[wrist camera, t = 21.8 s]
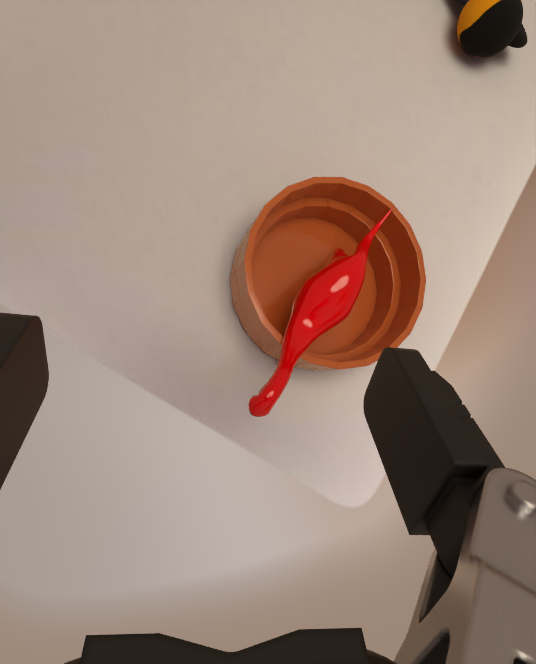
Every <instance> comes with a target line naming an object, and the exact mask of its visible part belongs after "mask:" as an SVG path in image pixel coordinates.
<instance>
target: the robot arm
mask: <svg viewBox="0 0 536 664" xmlns="http://www.w3.org/2000/svg"><path fill="white" fill-rule="evenodd" d="M48 380H49V371H48V363H47V356H46V349H45V341H44V334H43V327H42V322H41V320H40V318H39V317H38V316H31V315H20V314H9V313H0V489H1V487H2V485H3V483H4V481H5V479H6V477H7V474H8V472H9V470H10V468H11V466H12V464H13V462H14V460H15V458H16V456H17V454H18V452H19V449H20V448H21V446H22V444H23V441H24V439H25V437H26V435H27V433H28V431H29V429H30V427H31V425H32V423H33V421H34V419H35V417H36V414H37V412H38V410H39V408H40V406H41V404H42V402H43V400H44V398H45V395H46V392H47V387H48ZM364 414H365V418H366V421H367V423H368V426H369V429H370V431H371V434H372V437H373V439H374V442H375V444H376V447H377V450H378V452H379V455H380V458H381V460H382V463H383V466H384V468H385V471H386V474H387V476H388V479H389V482H390V484H391V487H392V490H393V492H394V495H395V498H396V500H397V503H398V506H399V508H400V511H401V514H402V516H403V519H404V521H405V524H406V527H407V530H408V532H409V535H430V536H431V539H432V541H433V544H434V546H435V550H434V551H433V553H432V555H431V558H430V561H429V564H428V568H427V571H426V575H425V578H424V581H423V584H422V588H421V591H420V595H419V598H418V601H417V605H416V607H415V611H414V615H413V618H412V621H411V624H410V627H409V630H408V633H407V635H406V638H405V640H404V642H403V644H402V646H401V647H400V649H399V651H398V653H397V655H396V658H395V660H394V662H393V661H391V660H389V659H388V658H386V657H384V656H381V655H379V654H377V653H375V652H373V651H370V650H367V649H366V645H365V642H364V637H363V633H362V628H340V629H304V630H303V629H302V630H297V631H294V632H291V633H288V634H285V635H282V636H280V637H277V638H274V639H271V640H269V641H266V642H263V643H260V644H257V645H254V646H252V647H249V648H246V649H243V650H240V651H237V652H225V651H221V650H217V649H213V648H210V647H206V646H203V645H199V644H196V643H192V642H189V641H185V640H181V639H178V638H174V637H170V636H167V635H163V634H160V633H155V634H121V635H120V634H118V635H86V639H85V643H84V647H83V652H82V656H81V658H78V659H75V660H72V661H69V662H67V663H64V664H536V480H535V479H533V478H532V477H530V476H528V475H526V474H524V473H522V472H519V471H517V470H514V469H509V468H505V466H504V465H503V463H502V462H501V460H500V459H499V457H498V456H497V454H496V453H495V451H494V450H493V448H492V447H491V445H490V443H489V442H488V440H487V439H486V437H485V436H484V434H483V433H482V431H481V430H480V428H479V427H478V425H477V424H476V422H475V421H474V419H473V418H470V415H471V414H470V413H469V411H468V410H467V408H466V407H465V405H462V401H461V399H460V398H459V396H458V395H457V393H456V392H455V390H454V388H453V387H452V385H450V384H449V383H448V382H447V381H446V380H445V379H443V378H442V377H441V376H440V375H439V374H438V373H436V372H435V371H431V370H430V368H429V367H428V365H427V364H426V362H425V360H424V359H423V357H422V356H421V354H420V353H419V351H417V350H414V349H403V348H392V347H386V348H385V349H384V350H383V351H382V352H381V355H380V357H379V360H378V362H377V365H376V367H375V370H374V372H373V375H372V377H371V380H370V382H369V385H368V387H367V390H366V393H365V396H364Z"/></svg>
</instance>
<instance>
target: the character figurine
mask: <svg viewBox="0 0 536 664" xmlns="http://www.w3.org/2000/svg"><path fill="white" fill-rule="evenodd" d="M459 1H460V2H461V3H462V4H463V5H464V6H465V7H464V8H463V10H462V12H461V14H460V17H459V20H458V24H457V37H458V41H459V43H460V45H461V47H462V48H463V50H464V51H465V52H467V53H468V54H470V55H472V56H475V57H489V56H492V55H495V54H497V53H499V52H500V51H502V50H503V49H504V48H506V47H507V46H511V47H514V48H521V47H523V46H525V45H526V43H527V35H526V32H525V29H524V27H523V25H522V18H523V6H522V2H521V0H459Z"/></svg>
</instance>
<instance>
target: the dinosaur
mask: <svg viewBox="0 0 536 664" xmlns="http://www.w3.org/2000/svg"><path fill="white" fill-rule="evenodd" d="M391 211H392V209H391V210H389V211H388V212H387V213H386V214H385V215H384V216H383V217H382V218H381V219H380V221H379V222H378V223H377V224H376V225H375V226H374V227H373V228H372V229H371V230H370V231H369V232H368V233H367V234H366V235H365V237H364V238H363V239H362V240H361V241H360V242H359V244H358V245H357V247H356V249H355V251H354V254H353V255H350V256H348V255H347V254H346V253H345V251H344V250H343V249H341V248H337V249H335V250H334V251H333V252H332V257H331V260H330V262H329V263H328V265H326V266H325V267H324V268H322V269H321V270H320V271H318V272H317V273H315V274H314V275H313V276H311V277H310V278H308V279H307V280H305V281H304V283H303V284H302V286H301V288H300V290H299V292H298V294H297V295H296V297H295V299H294V302H293V305H292V310H291V316H290V319H289V322H288V325H287V328H286V331H285V335H284V338H283V342H282V347H281V353H280V358H279V361H278V365H277V368H276V370H275V372H274V374H273V375H272V377H271V378H270V380H269V381H268V382H267V383H266V384H265V385H264V386H263V387H262V388H261V390H260V391H259V394H258V395H255V396H253V397H252V398H251V399H250V401H249V411H250V413H251V415H253V416H257V417H262V416H266V415H267V414H269V413H270V411H271V409H272V407H273V406H274V404H275V403H276V401H277V400H278V398H279V397H280V395H281V393H282V392H283V390H284V388H285V387H286V385H287V383H288V381H289V379H290V376H291V373H292V371H293V368H294V366H295V365H296V363H297V361H298V359H299V358H300V357H301V356H302V354H303V353H304V352H305V351H306V350H307V348H308V347H309V346H310V345H311V344H312V343H313V342H314V341H315V340H316V339H317V338H318V337H320V336H321V335H322V334H324V333H325V332H327V331H329V330H330V329H332V328H333V327H335V326H336V325H338V324H339V323H341V322H342V321H343V320H344V319H346V318H347V317H348V315H349V314H350V312H351V310H352V308H353V306H354V304H355V302H356V300H357V298H358V296H359V293H360V291H361V288H362V286H363V283H364V279H365V273H366V262H367V257H368V253H369V249H370V245H371V242H372V240H373V238H374V236H375V235H376V233H377V231H378V230H379V228H380V227H381V225H382V224H383V223H384V221H385V220H386V218H387V217H388V216H389V214H390V213H391Z"/></svg>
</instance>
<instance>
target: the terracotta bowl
mask: <svg viewBox="0 0 536 664" xmlns="http://www.w3.org/2000/svg"><path fill="white" fill-rule="evenodd" d="M391 209H392V211H391V213H390V214H389V216H388V217H387V218H386V220H385V221H384V223H383V224H382V225H381V227H380V228H379V230H378V231H377V233H376V235H375V236H374V238H373V240H372V242H371V245H370V249H369V253H368V257H367V262H366V273H365V279H364V283H363V286H362V288H361V291H360V293H359V296H358V298H357V300H356V302H355V304H354V306H353V308H352V310H351V312H350V314H349V315H348V317H347V318H346V319H344V320H343V321H342V322H341V323H339V324H338V325H336V326H335V327H333V328H332V329H330V330H329V331H327V332H325V333H324V334H322V335H321V336H320V337H318V338H317V339H316V340H315V341H314V342H313V343H312V344H311V345H310V346H309V347H308V348H307V350H306V351H305V352H304V353H303V354H302V356H301V357H300V358H299V359H298V361H297V363H296V365H295V366H294V367H297V368H302V369H306V370H311V371H314V370H338V369H347V368H355V367H362V366H368V365H370V364H372V363H374V362H376V361H378V360H379V357H380V355H381V352H382V351H383V350H384V349H385V348H386V347H392V348H397V347H398V346H399V345H400V344H401V343H402V342H403V341H404V340H405V339H406V338H407V336H408V335H409V334H410V333H411V331H412V329H413V327H414V325H415V323H416V320H417V318H418V316H419V314H420V312H421V310H422V306H423V299H424V291H425V284H426V276H425V269H424V263H423V256H422V252H421V248H420V246H419V244H418V242H417V239H416V237H415V235H414V232H413V230H412V228H411V226H410V224H409V223H408V222H407V220H406V219H405V218H404V217H403V215H402V214H401V213H400V212H399V211H398V209H397V208H396V207H395V206H394V204H393V203H392V202H391V201H389V200H388V199H386V198H385V197H383V196H382V195H381V194H379V193H378V192H376V191H375V190H374V189H372V188H371V187H369V186H367V185H364V184H361V183H358V182H355V181H352V180H349V179H346V178H343V177H313V178H310V179H307V180H304V181H301V182H298V183H296V184H293V185H290V186H288V187H286V188H285V189H284V190H282V191H281V192H280V193H279V194H278V195H276V196H275V197H274V198H273V199H271V200H270V201H269V202H268V203H267V204H266V205H265V206H264V207H263V209H262V210H261V212H260V213H259V215H258V216H257V218H256V219H255V221H254V222H253V224H252V225H251V227H250V228H249V230H248V231H247V233H246V235H245V237H244V238H243V240H242V242H241V243H240V245H239V247H238V248H237V250H236V252H235V257H234V262H233V267H232V272H231V276H230V277H231V278H230V281H231V289H232V298H233V305H234V308H235V310H236V312H237V315H238V317H239V319H240V321H241V324H242V326H243V328H244V330H245V332H246V333H247V334H248V335H249V336H250V337H251V338H252V340H253V341H254V342H255V343H256V344H257V345H258V346H259V347H260V349H261V350H262V351H264V352H265V353H266V354H268V355H270V356H272V357H273V358H275V359H277V360H278V361H279V358H280V353H281V347H282V342H283V338H284V335H285V331H286V328H287V325H288V322H289V319H290V316H291V310H292V305H293V302H294V299H295V297H296V295H297V294H298V292H299V290H300V288H301V286H302V284H303V283H304V281H305V280H307V279H308V278H310V277H311V276H313V275H314V274H315V273H317V272H318V271H320V270H321V269H322V268H324V267H325V266H326V265H328V263H329V262H330V260H331V257H332V252H333V251H334V250H335V249H337V248H341V249H343V250H344V251H345V253H346V254H347V255H348V256H350V255H353V254H354V251H355V249H356V247H357V245H358V244H359V242H360V241H361V240H362V239H363V238H364V237H365V235H366V234H367V233H368V232H369V231H370V230H371V229H372V228H373V227H374V226H375V225H376V224H377V223H378V222H379V221H380V219H381V218H382V217H383V216H384V215H385V214H386V213H387V212H388V211H389V210H391Z"/></svg>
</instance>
